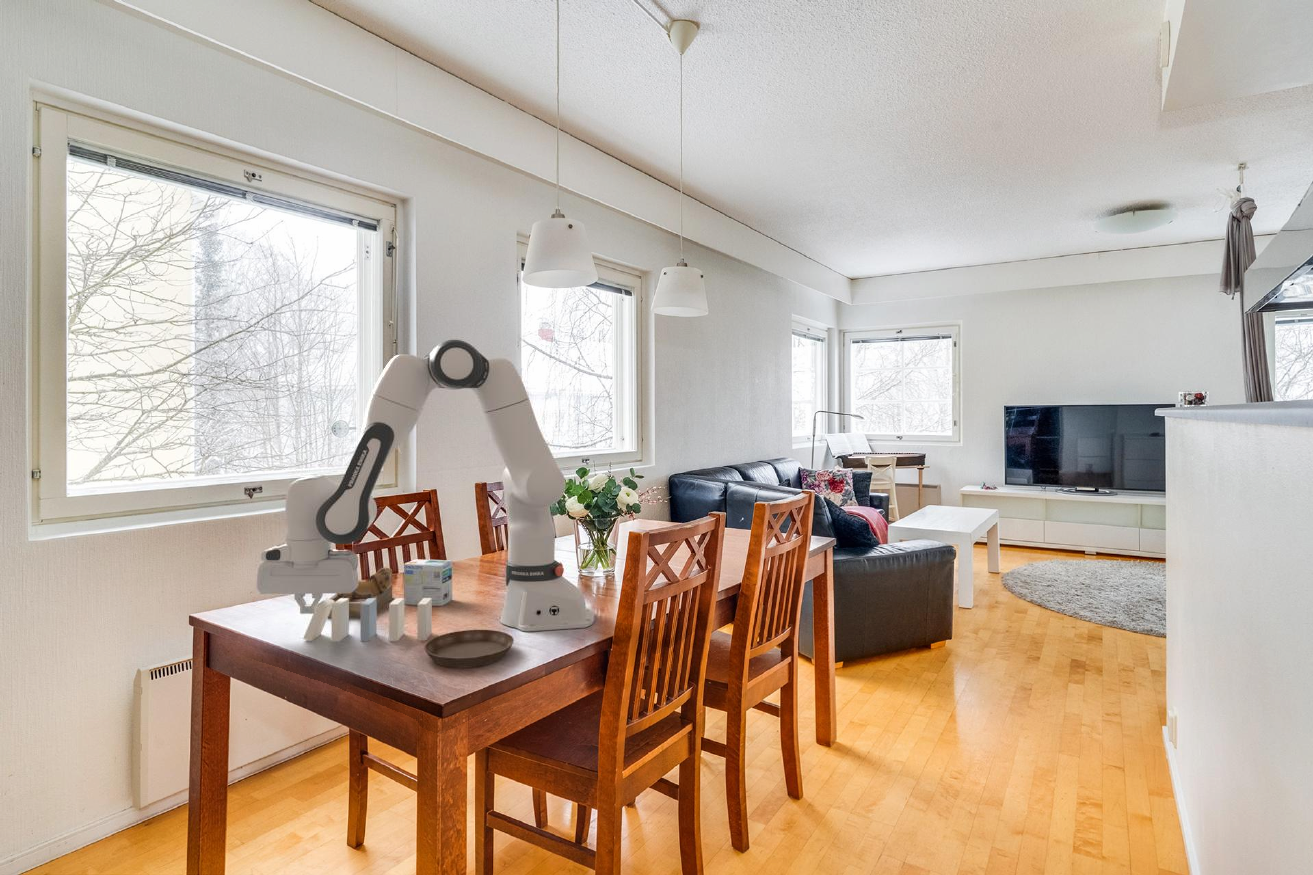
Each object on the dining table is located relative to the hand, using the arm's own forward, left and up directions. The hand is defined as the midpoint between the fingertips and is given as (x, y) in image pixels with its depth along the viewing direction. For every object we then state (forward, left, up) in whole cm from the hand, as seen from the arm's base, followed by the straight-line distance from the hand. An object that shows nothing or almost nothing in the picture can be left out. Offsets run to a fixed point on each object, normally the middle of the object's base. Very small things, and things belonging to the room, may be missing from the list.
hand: (308, 613), depth 148 cm
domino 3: (-13, 0, -5) cm, 14 cm away
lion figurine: (-4, -24, -5) cm, 25 cm away
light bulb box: (-19, -28, -6) cm, 34 cm away
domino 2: (-7, 0, -5) cm, 9 cm away
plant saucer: (-37, +12, -6) cm, 39 cm away
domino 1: (-1, 0, -5) cm, 5 cm away
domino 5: (-25, 0, -5) cm, 25 cm away
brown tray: (-3, -24, -5) cm, 25 cm away
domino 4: (-19, 0, -5) cm, 19 cm away
